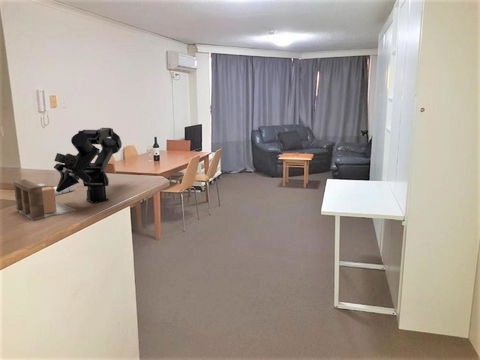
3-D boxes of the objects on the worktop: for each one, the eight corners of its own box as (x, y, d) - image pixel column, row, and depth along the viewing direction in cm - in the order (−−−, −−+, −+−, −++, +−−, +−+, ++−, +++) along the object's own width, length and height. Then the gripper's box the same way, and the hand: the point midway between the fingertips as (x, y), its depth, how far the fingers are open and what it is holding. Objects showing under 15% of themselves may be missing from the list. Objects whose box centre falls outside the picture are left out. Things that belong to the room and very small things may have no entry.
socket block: (58, 202, 153) (55, 175, 151) (75, 210, 143) (72, 181, 141) (16, 210, 142) (13, 181, 140) (32, 220, 133) (29, 188, 130)
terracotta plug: (51, 208, 143) (49, 186, 141) (56, 211, 140) (54, 188, 138) (34, 212, 138) (32, 189, 137) (39, 214, 136) (36, 191, 134)
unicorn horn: (17, 202, 154) (15, 190, 153) (68, 190, 174) (67, 180, 173) (24, 204, 152) (22, 192, 151) (75, 191, 172) (74, 181, 171)
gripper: (56, 142, 147) (29, 174, 142) (80, 147, 135) (50, 183, 130) (78, 160, 155) (52, 191, 149) (102, 166, 143) (75, 201, 137)
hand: (57, 191), depth 141 cm, fingers closed
